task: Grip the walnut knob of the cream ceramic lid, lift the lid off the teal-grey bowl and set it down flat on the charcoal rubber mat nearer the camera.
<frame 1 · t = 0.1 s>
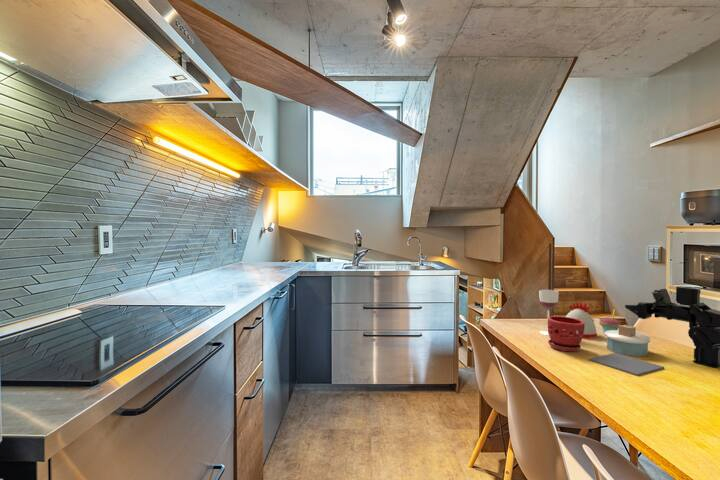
hand: (631, 305, 152), 17 cm above the table, tool horizontal, fingers open, 9 cm apart
mat: (625, 364, 129), on the table
lid: (626, 338, 144), point 5 cm above the table, touching bowl
bowl: (626, 350, 144), on the table
wineglass: (548, 333, 168), on the table
kitchen timer: (578, 334, 168), on the table
plant pot: (565, 348, 147), on the table
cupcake: (609, 333, 170), on the table
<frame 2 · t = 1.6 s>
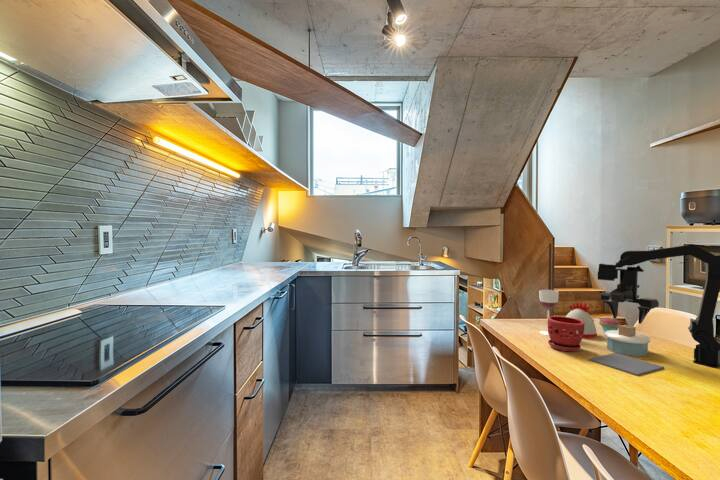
hand: (627, 320, 144), 12 cm above the table, tool pointing down, fingers open, 9 cm apart
nothing on the table moved.
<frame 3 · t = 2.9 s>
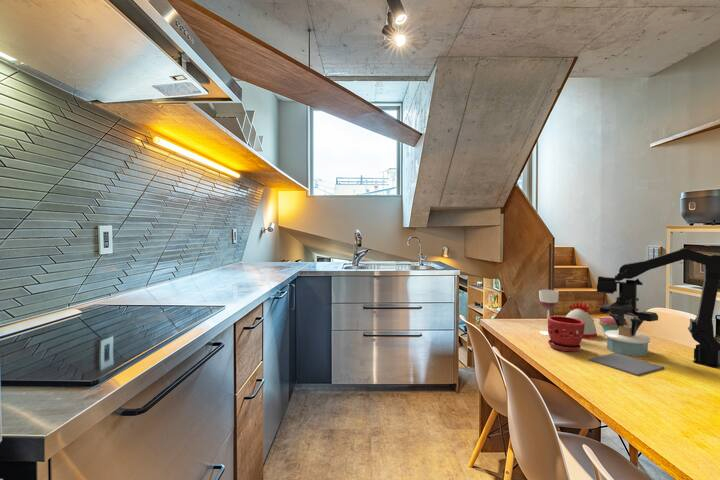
hand: (627, 333, 144), 7 cm above the table, tool pointing down, fingers closed on lid, 4 cm apart
lid: (626, 338, 144), point 5 cm above the table, touching bowl, gripper
everything else where it was.
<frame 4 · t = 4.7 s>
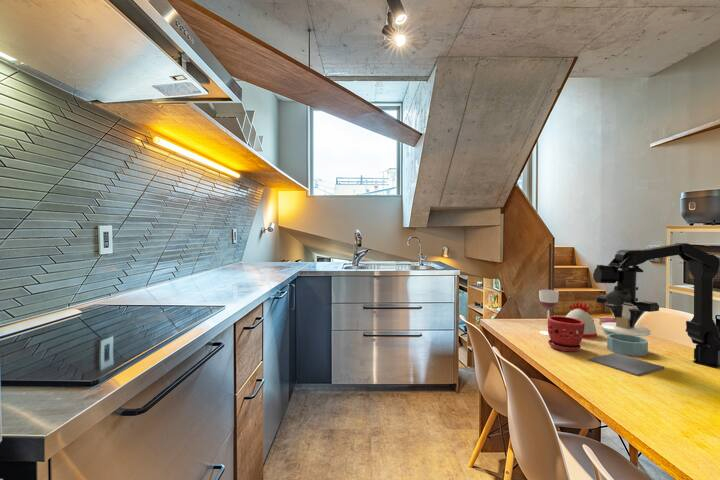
hand: (625, 325, 133), 13 cm above the table, tool pointing down, fingers closed on lid, 4 cm apart
lid: (625, 330, 133), point 11 cm above the table, touching gripper
everything else where it was.
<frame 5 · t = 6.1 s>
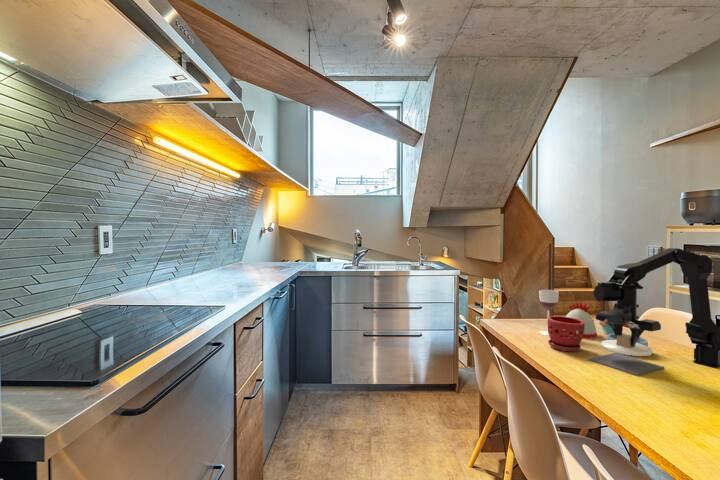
hand: (625, 344, 129), 7 cm above the table, tool pointing down, fingers closed on lid, 4 cm apart
lid: (625, 349, 129), point 5 cm above the table, touching gripper
everything else where it was.
when the fingers open (4 cm above the table, at t = 7.0 s): lid drops 1 cm, resting on mat.
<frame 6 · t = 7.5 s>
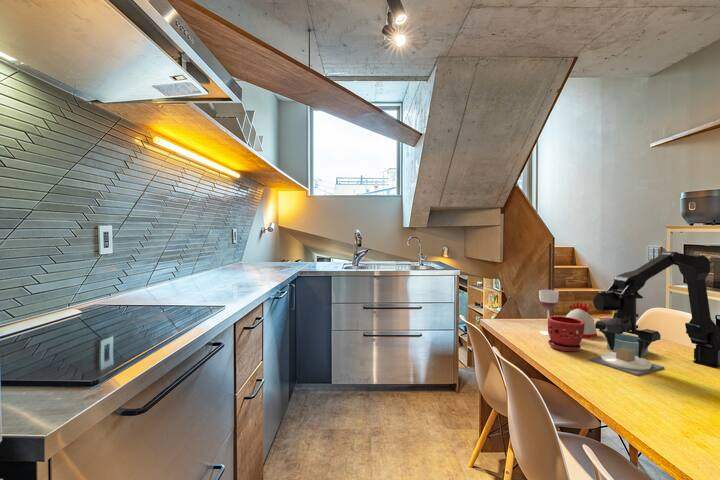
hand: (625, 353, 129), 4 cm above the table, tool pointing down, fingers open, 9 cm apart
lid: (625, 362, 129), point 1 cm above the table, touching mat
everything else where it was.
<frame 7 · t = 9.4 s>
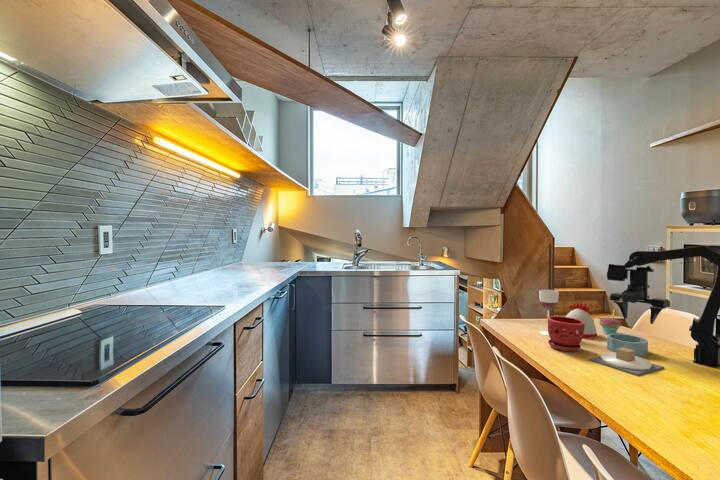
hand: (638, 321, 143), 12 cm above the table, tool pointing down, fingers open, 9 cm apart
nothing on the table moved.
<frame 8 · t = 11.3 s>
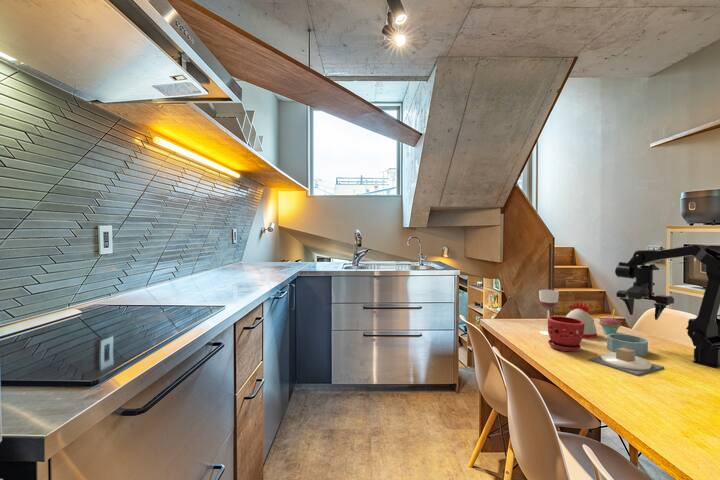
hand: (643, 317, 150), 12 cm above the table, tool pointing down, fingers open, 9 cm apart
nothing on the table moved.
at the end: lid inside the target area on the mat (0.0 cm from its centre), point 0.6 cm above the mat's base; lid tilted 0°; the gripper is holding nothing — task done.
